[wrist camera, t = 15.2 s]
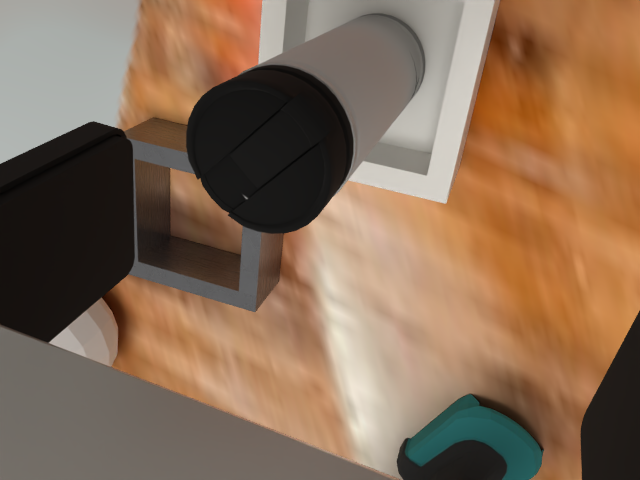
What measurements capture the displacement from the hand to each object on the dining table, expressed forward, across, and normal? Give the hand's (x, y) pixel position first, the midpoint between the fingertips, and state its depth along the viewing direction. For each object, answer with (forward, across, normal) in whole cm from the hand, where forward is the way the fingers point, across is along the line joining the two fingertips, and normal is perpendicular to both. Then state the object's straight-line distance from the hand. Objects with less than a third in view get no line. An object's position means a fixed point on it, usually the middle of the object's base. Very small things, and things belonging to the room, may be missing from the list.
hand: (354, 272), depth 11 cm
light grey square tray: (+32, +7, +5) cm, 33 cm away
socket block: (+32, +18, +19) cm, 41 cm away
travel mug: (+30, +6, +4) cm, 31 cm away
